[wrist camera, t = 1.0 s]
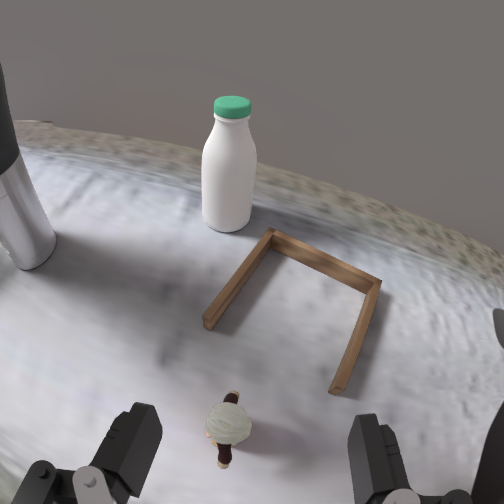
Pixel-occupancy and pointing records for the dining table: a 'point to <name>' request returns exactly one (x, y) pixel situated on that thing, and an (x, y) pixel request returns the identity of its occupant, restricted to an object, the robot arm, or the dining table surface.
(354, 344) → the box
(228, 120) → the milk bottle
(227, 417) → the grandmother figurine
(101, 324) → the dining table surface
